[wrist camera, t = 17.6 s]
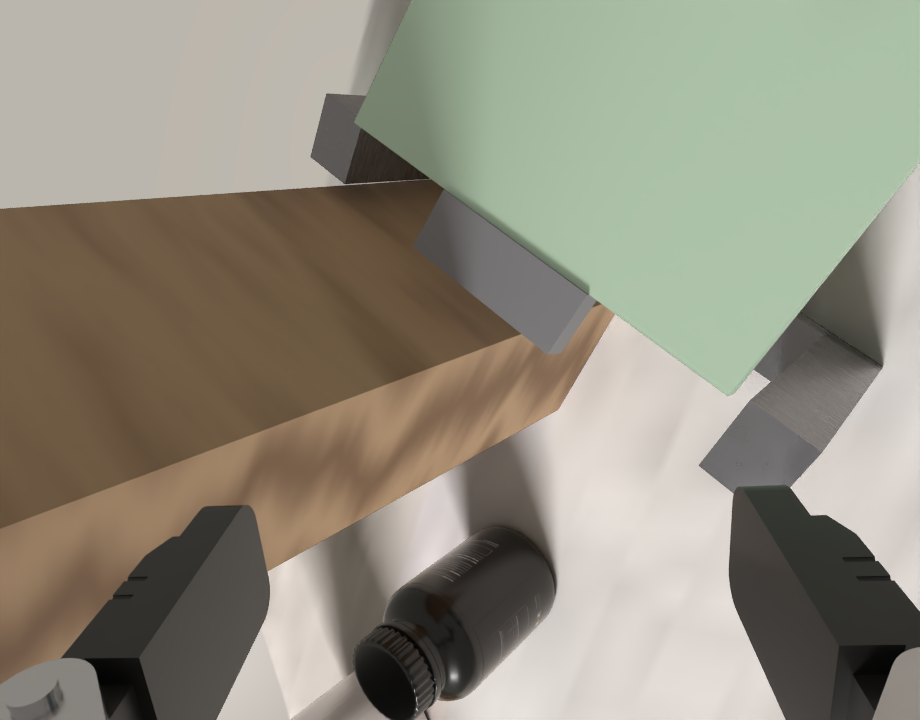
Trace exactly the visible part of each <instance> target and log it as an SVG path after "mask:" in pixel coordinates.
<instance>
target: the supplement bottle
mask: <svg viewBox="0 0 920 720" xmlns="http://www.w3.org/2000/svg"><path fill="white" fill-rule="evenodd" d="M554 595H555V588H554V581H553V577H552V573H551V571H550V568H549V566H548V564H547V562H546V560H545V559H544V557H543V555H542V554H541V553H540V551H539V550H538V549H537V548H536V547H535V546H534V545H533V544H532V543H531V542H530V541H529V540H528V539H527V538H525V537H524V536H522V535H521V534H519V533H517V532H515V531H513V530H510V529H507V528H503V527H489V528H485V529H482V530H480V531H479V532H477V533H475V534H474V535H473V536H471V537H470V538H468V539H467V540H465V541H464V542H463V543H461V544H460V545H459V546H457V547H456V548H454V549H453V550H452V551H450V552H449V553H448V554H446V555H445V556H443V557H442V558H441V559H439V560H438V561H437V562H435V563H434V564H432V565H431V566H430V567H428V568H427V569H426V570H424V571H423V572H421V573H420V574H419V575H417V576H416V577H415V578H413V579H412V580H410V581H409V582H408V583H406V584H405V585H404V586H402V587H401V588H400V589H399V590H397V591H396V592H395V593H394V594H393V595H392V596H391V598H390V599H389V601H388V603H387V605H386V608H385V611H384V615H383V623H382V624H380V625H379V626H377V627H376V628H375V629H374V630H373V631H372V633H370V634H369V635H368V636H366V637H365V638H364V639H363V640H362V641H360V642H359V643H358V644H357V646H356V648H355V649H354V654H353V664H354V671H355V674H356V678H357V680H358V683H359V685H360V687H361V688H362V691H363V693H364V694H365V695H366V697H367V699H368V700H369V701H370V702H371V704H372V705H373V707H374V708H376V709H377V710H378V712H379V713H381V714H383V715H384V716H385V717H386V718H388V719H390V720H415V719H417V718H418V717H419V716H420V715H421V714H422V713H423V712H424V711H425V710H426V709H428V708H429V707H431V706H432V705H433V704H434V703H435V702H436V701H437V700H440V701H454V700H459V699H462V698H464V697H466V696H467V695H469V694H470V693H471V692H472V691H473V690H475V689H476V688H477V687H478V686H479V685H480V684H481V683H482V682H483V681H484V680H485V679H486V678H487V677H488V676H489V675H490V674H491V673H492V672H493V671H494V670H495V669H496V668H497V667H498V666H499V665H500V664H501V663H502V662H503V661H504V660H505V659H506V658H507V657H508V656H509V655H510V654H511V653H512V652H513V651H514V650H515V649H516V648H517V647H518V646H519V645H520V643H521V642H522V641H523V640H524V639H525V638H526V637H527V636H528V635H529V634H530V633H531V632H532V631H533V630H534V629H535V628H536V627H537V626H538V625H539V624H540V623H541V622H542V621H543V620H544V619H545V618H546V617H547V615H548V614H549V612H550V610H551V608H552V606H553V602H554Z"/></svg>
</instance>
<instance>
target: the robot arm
mask: <svg viewBox="0 0 920 720" xmlns="http://www.w3.org/2000/svg"><path fill="white" fill-rule="evenodd" d="M729 581H730V588H731V594H732V598H733V602H734V605H735V608H736V610H737V613H738V615H739V617H740V619H741V621H742V624H743V626H744V628H745V630H746V633H747V635H748V637H749V639H750V641H751V644H752V646H753V648H754V650H755V652H756V655H757V657H758V659H759V661H760V664H761V666H762V668H763V670H764V672H765V675H766V677H767V679H768V681H769V684H770V686H771V688H772V690H773V692H774V695H775V697H776V699H777V701H778V703H779V706H780V708H781V710H782V712H783V715H784V717H785V719H786V720H920V612H919V610H918V609H917V608H916V607H915V605H914V604H913V603H912V602H911V601H910V599H909V598H908V597H907V596H906V594H905V593H904V592H903V591H902V589H901V588H900V587H899V586H898V585H897V583H896V582H895V581H891V579H890V575H889V574H888V572H887V571H886V570H885V569H884V567H883V566H882V565H881V564H880V563H879V561H875V556H874V555H873V554H872V553H871V551H870V550H869V549H868V548H867V547H866V545H865V544H864V543H863V542H862V540H861V539H860V538H859V537H858V536H857V534H855V533H854V532H852V531H851V530H849V529H848V528H846V527H844V526H843V525H841V524H840V523H838V522H836V521H835V520H833V519H832V518H830V517H829V516H827V515H817V516H811V515H810V514H809V513H808V511H807V510H806V509H805V507H804V506H803V505H802V503H801V502H800V501H799V499H798V498H797V496H796V495H795V494H794V492H793V491H792V490H791V489H790V487H788V486H787V485H767V486H739V487H737V488H736V489H735V492H734V495H733V505H732V522H731V540H730V557H729ZM269 599H270V584H269V577H268V573H267V568H266V563H265V558H264V553H263V549H262V544H261V539H260V534H259V529H258V524H257V520H256V516H255V513H254V511H253V509H252V508H251V506H249V505H226V506H205V507H203V508H202V509H201V510H200V511H199V512H198V513H197V515H196V516H195V517H194V518H193V520H192V521H191V522H190V524H189V525H188V526H187V527H186V529H185V530H184V531H183V532H182V534H181V535H180V536H174V537H171V538H170V539H168V540H167V541H165V542H164V543H162V544H161V545H160V546H158V547H157V548H155V549H154V550H152V551H151V552H150V553H148V554H147V555H145V556H144V558H143V559H142V560H141V561H140V563H139V564H138V565H137V566H136V567H135V569H134V570H133V571H132V572H131V573H130V575H129V576H128V580H127V581H124V582H123V583H122V584H121V586H120V587H119V588H118V589H117V590H116V592H115V593H114V594H113V599H112V600H108V601H107V603H106V604H105V605H104V606H103V607H102V609H101V610H100V611H99V612H98V613H97V615H96V616H95V617H94V618H93V620H92V621H91V622H90V623H89V624H88V626H87V627H86V628H85V629H84V630H83V632H82V633H81V634H80V635H79V637H78V638H77V639H76V640H75V641H74V643H73V644H72V645H71V646H70V647H69V649H68V650H67V651H66V652H65V654H64V655H63V656H62V657H61V658H60V659H56V660H51V661H47V662H43V663H40V664H38V665H35V666H32V667H30V668H28V669H26V670H23V671H21V672H20V673H18V674H16V675H14V676H12V677H11V678H9V679H8V680H6V681H5V682H3V683H2V684H1V685H0V720H216V719H217V717H218V715H219V713H220V711H221V709H222V707H223V705H224V703H225V701H226V699H227V696H228V694H229V692H230V690H231V688H232V686H233V684H234V682H235V680H236V678H237V676H238V673H239V672H240V670H241V668H242V665H243V663H244V661H245V659H246V657H247V655H248V653H249V651H250V649H251V647H252V644H253V643H254V641H255V639H256V637H257V635H258V633H259V631H260V628H261V626H262V624H263V622H264V620H265V618H266V615H267V611H268V606H269ZM291 720H390V719H388V718H386V717H385V716H384V715H383V714H381V713H379V712H378V710H377V709H376V708H374V707H373V705H372V704H371V702H370V701H369V700H368V699H367V697H366V695H365V694H364V693H363V691H362V688H361V687H360V685H359V683H358V680H357V678H356V674H355V671H353V672H352V673H351V674H349V675H348V676H347V677H346V678H344V679H343V680H342V681H340V682H339V683H338V684H336V685H335V686H334V687H333V688H331V689H330V690H329V691H327V692H326V693H324V694H323V695H322V696H320V697H319V698H318V699H317V700H315V701H314V702H313V703H311V704H310V705H309V706H307V707H306V708H305V709H304V710H302V711H301V712H300V713H298V714H297V715H296V716H294V717H293V718H292V719H291ZM415 720H427V718H426V716H425V714H424V712H423V713H422V714H421V715H420V716H419V717H418V718H417V719H415Z"/></svg>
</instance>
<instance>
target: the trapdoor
mask: <svg viewBox="0 0 920 720" xmlns="http://www.w3.org/2000/svg"><path fill="white" fill-rule="evenodd" d="M354 123H355V124H357V125H358V126H359V127H361V128H362V129H363V130H365V131H366V132H368V133H369V134H370V135H372V136H373V137H374V138H376V139H377V140H378V141H380V142H381V143H383V144H384V145H385V146H387V147H388V148H389V149H391V150H392V151H393V152H395V153H396V154H398V155H399V156H400V157H402V158H403V159H404V160H406V161H407V162H408V163H410V164H411V165H413V166H414V167H415V168H417V169H418V170H419V171H421V172H422V173H424V174H425V175H426V176H428V177H429V178H430V179H432V180H433V181H434V182H436V183H437V184H439V185H440V186H441V187H443V188H444V189H445V190H444V189H443V191H442V193H441V195H440V197H439V199H438V201H437V203H436V204H435V206H434V208H433V210H432V212H431V214H430V216H429V217H428V219H427V221H426V223H425V225H424V227H423V229H422V230H421V232H420V234H419V236H418V238H417V240H416V242H415V243H414V245H413V247H414V248H415V249H416V250H417V251H419V252H420V253H421V254H422V255H424V256H425V257H426V258H427V259H429V260H430V261H431V262H432V263H434V264H435V265H436V266H437V267H439V268H440V269H441V270H442V271H444V272H445V273H446V274H447V275H449V276H450V277H451V278H452V279H454V280H455V281H456V282H457V283H459V284H460V285H461V286H462V287H464V288H465V289H466V290H467V291H469V292H470V293H471V294H472V295H474V296H475V297H476V298H477V299H479V300H480V301H481V302H482V303H484V304H485V305H486V306H487V307H489V308H490V309H491V310H492V311H493V312H495V313H496V314H497V315H498V316H500V317H501V318H502V319H503V320H505V321H506V322H507V323H508V324H510V325H511V326H512V327H513V328H515V329H516V330H517V331H518V332H520V333H521V334H522V335H523V336H525V337H526V338H527V339H528V340H530V341H531V342H532V343H533V344H535V345H536V346H537V347H538V348H540V349H541V350H542V351H543V352H545V353H546V354H547V355H549V354H557V353H562V351H563V350H564V348H565V347H566V345H567V344H568V342H569V341H570V339H571V338H572V336H573V335H574V333H575V332H576V330H577V329H578V328H579V326H580V325H581V323H582V322H583V320H584V319H585V317H586V316H587V314H588V313H589V311H590V310H591V308H592V307H593V305H594V304H595V302H596V301H598V302H600V303H601V304H602V305H604V306H605V307H606V308H608V309H609V310H610V311H612V312H613V313H615V314H616V315H617V316H619V317H620V318H621V319H623V320H624V321H626V322H627V323H628V324H630V325H631V326H632V327H634V328H635V329H636V330H638V331H639V332H641V333H642V334H643V335H645V336H646V337H647V338H649V339H650V340H651V341H653V342H654V343H656V344H657V345H658V346H660V347H661V348H662V349H664V350H665V351H666V352H668V353H669V354H671V355H672V356H673V357H675V358H676V359H677V360H679V361H680V362H681V363H683V364H684V365H686V366H687V367H688V368H690V369H691V370H692V371H694V372H695V373H696V374H698V375H699V376H701V377H702V378H703V379H705V380H706V381H707V382H709V383H710V384H712V385H713V386H714V387H716V388H717V389H718V390H720V391H721V392H722V393H724V394H725V395H727V396H730V395H732V394H734V393H735V392H736V391H737V389H738V388H739V387H740V386H741V384H742V383H743V382H744V381H745V379H746V378H747V377H748V376H749V374H750V373H751V372H752V371H753V369H754V368H755V367H756V366H757V364H758V363H759V362H760V361H761V359H762V358H763V357H764V356H765V354H766V353H767V352H768V351H769V349H770V348H771V347H772V346H773V345H774V343H775V342H776V341H777V340H778V338H779V337H780V336H781V335H782V333H783V332H784V331H785V330H786V328H787V327H788V326H789V325H790V323H791V322H792V321H793V320H794V318H795V317H796V316H797V315H798V313H799V312H800V311H801V310H802V308H803V307H804V306H805V305H806V303H807V302H808V301H809V300H810V299H811V297H812V296H813V295H814V294H815V292H816V291H817V290H818V289H819V287H820V286H821V285H822V284H823V282H824V281H825V280H826V279H827V277H828V276H829V275H830V274H831V272H832V271H833V270H834V269H835V267H836V266H837V265H838V264H839V262H840V261H841V260H842V259H843V257H844V256H845V255H846V254H847V252H848V251H849V250H850V249H851V248H852V246H853V245H854V244H855V243H856V241H857V240H858V239H859V238H860V236H861V235H862V234H863V233H864V231H865V230H866V229H867V228H868V226H869V225H870V224H871V223H872V221H873V220H874V219H875V218H876V216H877V215H878V214H879V213H880V211H881V210H882V209H883V208H884V206H885V205H886V204H887V203H888V202H889V200H890V199H891V198H892V197H893V195H894V194H895V193H896V192H897V190H898V189H899V188H900V187H901V185H902V184H903V183H904V182H905V180H906V179H907V178H908V177H909V175H910V174H911V173H912V172H913V170H914V169H915V168H916V167H917V165H918V164H919V163H920V0H411V2H410V4H409V6H408V8H407V10H406V12H405V14H404V17H403V19H402V21H401V23H400V25H399V27H398V29H397V32H396V34H395V36H394V38H393V40H392V42H391V44H390V47H389V49H388V51H387V53H386V55H385V57H384V59H383V62H382V64H381V66H380V68H379V70H378V72H377V74H376V76H375V79H374V81H373V83H372V85H371V87H370V89H369V91H368V94H367V96H366V98H365V100H364V102H363V104H362V106H361V109H360V111H359V113H358V115H357V117H356V119H355V121H354Z"/></svg>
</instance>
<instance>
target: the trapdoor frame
mask: <svg viewBox="0 0 920 720" xmlns="http://www.w3.org/2000/svg"><path fill="white" fill-rule="evenodd" d="M365 98H366V96H358V95H341V94H326V98H325V102H324V106H323V110H322V114H321V118H320V122H319V126H318V129H317V133H316V137H315V141H314V145H313V149H312V153H311V158H313V159H314V160H315V161H316V162H318V163H319V164H320V165H321V166H323V167H324V168H325V169H326V170H328V171H329V172H330V173H331V174H333V175H334V176H335V177H336V178H338V179H339V180H340V181H341V182H343V183H344V184H353V183H368V182H383V181H399V180H414V179H429V177H428V176H426V175H425V174H424V173H422V172H421V171H419V170H418V169H417V168H415V167H414V166H413V165H411V164H410V163H408V162H407V161H406V160H404V159H403V158H402V157H400V156H399V155H398V154H396V153H395V152H393V151H392V150H391V149H389V148H388V147H387V146H385V145H384V144H383V143H381V142H380V141H378V140H377V139H376V138H374V137H373V136H372V135H370V134H369V133H368V132H366V131H365V130H363V129H362V128H361V127H359V126H358V125H357V124H355V123H354V121H355V119H356V117H357V115H358V113H359V111H360V109H361V106H362V104H363V102H364V100H365ZM882 368H883V366H882V365H880V364H879V363H877V362H876V361H874V360H872V359H871V358H869V357H868V356H866V355H865V354H863V353H862V352H860V351H859V350H857V349H855V348H854V347H852V346H851V345H849V344H848V343H846V342H845V341H843V340H841V339H840V338H838V337H837V336H835V335H834V334H832V333H831V332H829V331H827V330H826V329H824V328H823V327H821V326H820V325H818V324H817V323H815V322H814V321H812V320H810V319H809V318H807V317H806V316H804V315H803V314H801V313H800V312H799V313H798V315H797V316H796V317H795V318H794V320H793V321H792V322H791V323H790V325H789V326H788V327H787V328H786V330H785V331H784V332H783V333H782V335H781V336H780V337H779V338H778V340H777V341H776V342H775V343H774V345H773V346H772V347H771V348H770V349H769V351H768V352H767V353H766V354H765V356H764V357H763V358H762V359H761V361H760V362H759V363H758V364H757V366H756V367H755V368H754V370H755V371H757V372H758V373H760V374H761V375H762V376H764V377H765V378H767V379H768V380H770V381H771V382H770V383H769V384H768V385H767V386H766V387H765V388H763V389H762V390H761V391H760V392H759V393H758V394H757V395H756V396H754V397H753V398H752V399H751V400H750V401H749V402H748V404H747V405H746V406H745V407H744V409H743V410H742V411H741V412H740V414H739V415H738V416H737V418H736V419H735V420H734V421H733V423H732V424H731V425H730V426H729V428H728V429H727V430H726V431H725V433H724V434H723V435H722V437H721V438H720V439H719V440H718V442H717V443H716V444H715V445H714V447H713V448H712V449H711V450H710V452H709V453H708V454H707V455H706V457H705V458H704V459H703V461H702V462H701V463H700V464H699V466H700V467H701V468H702V469H704V470H705V471H706V472H707V473H709V474H710V475H711V476H712V477H714V478H715V479H716V480H718V481H719V482H720V483H721V484H723V485H724V486H725V487H726V488H728V489H729V490H730V491H731V492H733V493H734V492H735V489H736V488H737V487H739V486H767V485H787V486H788V487H791V486H792V485H793V483H794V482H795V481H796V480H797V479H798V478H799V477H800V476H801V475H802V474H803V473H804V472H805V470H806V469H807V468H808V467H809V466H810V465H811V464H812V463H813V462H814V461H815V460H816V458H817V457H818V456H819V455H820V454H821V453H822V452H823V450H824V449H825V448H826V446H827V445H828V443H829V442H830V441H831V439H832V438H833V436H834V435H835V434H836V432H837V431H838V429H839V428H840V427H841V425H842V424H843V422H844V421H845V420H846V418H847V417H848V415H849V414H850V413H851V411H852V410H853V408H854V407H855V406H856V404H857V403H858V401H859V400H860V399H861V397H862V396H863V394H864V393H865V392H866V390H867V389H868V387H869V386H870V385H871V383H872V382H873V380H874V379H875V377H876V376H877V375H878V373H879V372H880V370H881V369H882Z"/></svg>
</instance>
